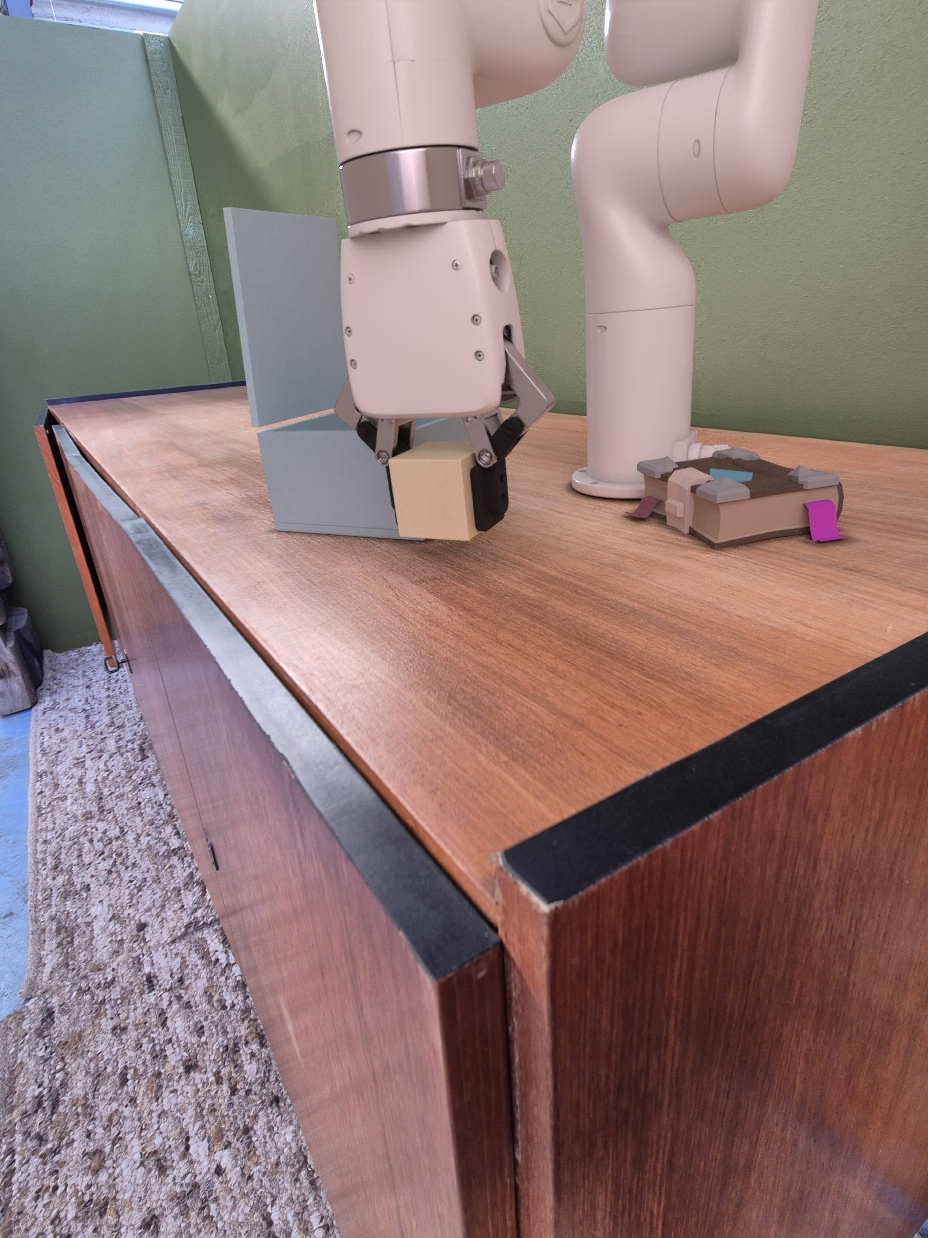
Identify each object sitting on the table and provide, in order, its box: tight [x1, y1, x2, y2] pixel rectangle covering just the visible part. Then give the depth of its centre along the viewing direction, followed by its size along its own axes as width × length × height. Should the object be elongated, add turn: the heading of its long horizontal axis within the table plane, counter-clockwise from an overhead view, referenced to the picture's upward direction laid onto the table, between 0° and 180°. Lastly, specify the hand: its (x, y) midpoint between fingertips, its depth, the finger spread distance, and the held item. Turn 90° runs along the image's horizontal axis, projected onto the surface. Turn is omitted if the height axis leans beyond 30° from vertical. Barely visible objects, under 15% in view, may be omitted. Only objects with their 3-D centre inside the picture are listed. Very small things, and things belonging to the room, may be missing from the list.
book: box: [623, 445, 849, 551], centre depth 57 cm, size 20×12×5 cm, turn 14°
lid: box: [222, 206, 348, 428], centre depth 64 cm, size 16×14×5 cm
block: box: [388, 441, 482, 542], centre depth 45 cm, size 5×5×5 cm
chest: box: [256, 411, 470, 542], centre depth 65 cm, size 16×14×9 cm
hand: (450, 519), depth 46 cm, fingers closed on block, 5 cm apart
